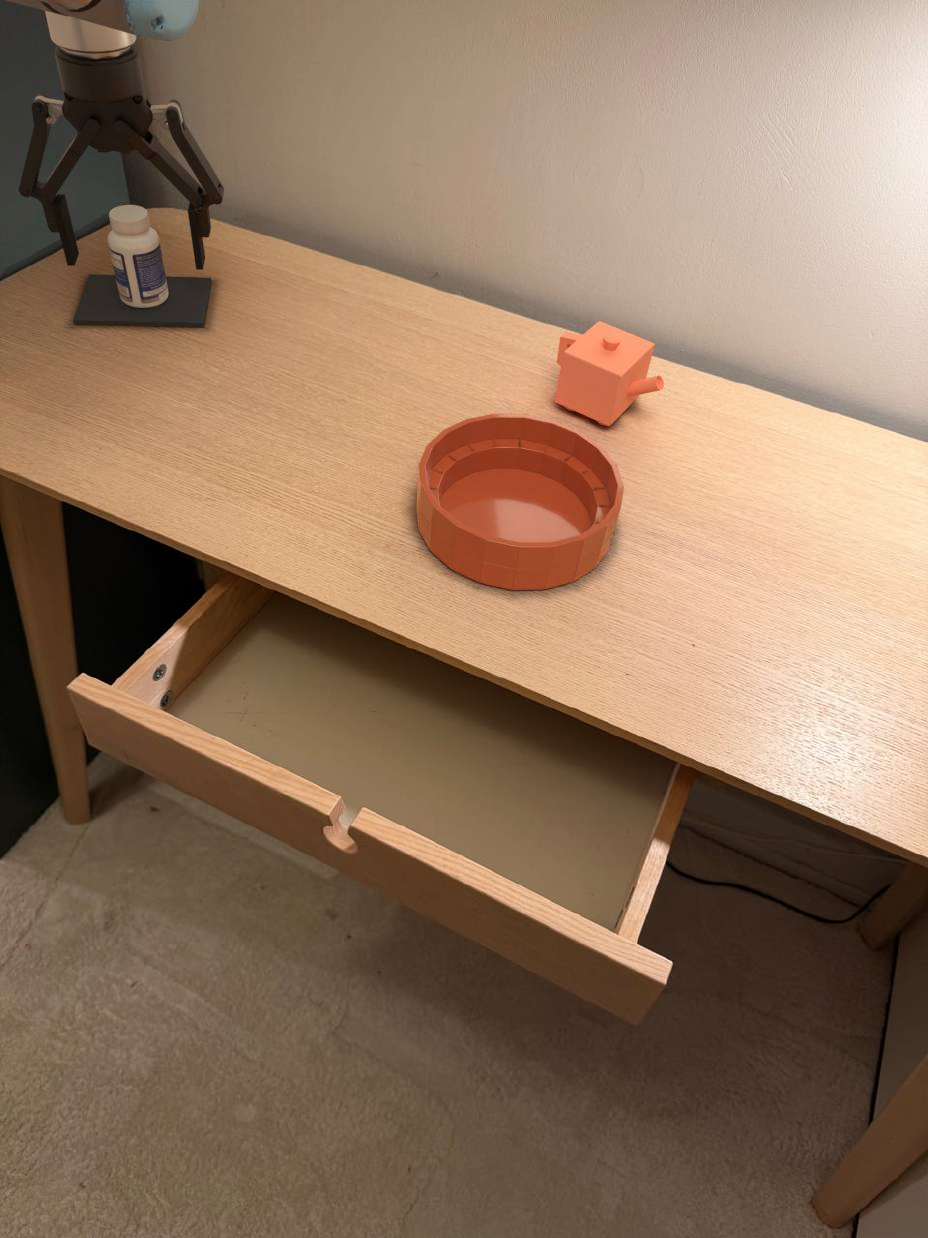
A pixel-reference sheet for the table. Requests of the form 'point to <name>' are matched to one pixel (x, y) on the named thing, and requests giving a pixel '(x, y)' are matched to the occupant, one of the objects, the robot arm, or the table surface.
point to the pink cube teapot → (603, 372)
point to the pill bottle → (136, 257)
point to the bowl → (517, 501)
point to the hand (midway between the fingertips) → (137, 261)
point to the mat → (176, 311)
